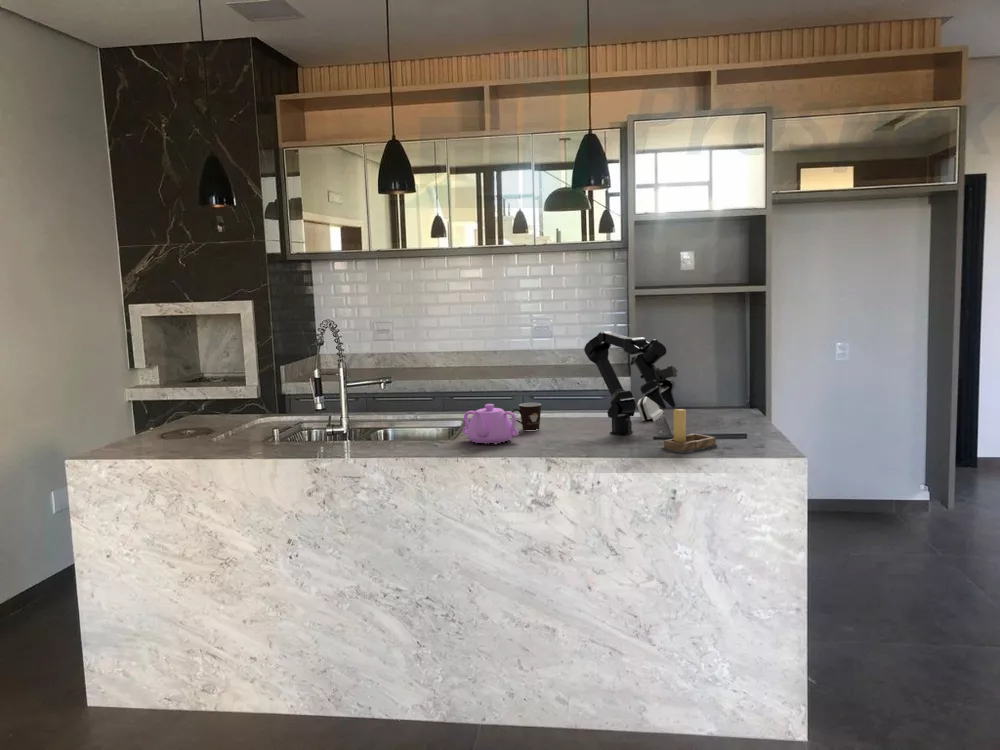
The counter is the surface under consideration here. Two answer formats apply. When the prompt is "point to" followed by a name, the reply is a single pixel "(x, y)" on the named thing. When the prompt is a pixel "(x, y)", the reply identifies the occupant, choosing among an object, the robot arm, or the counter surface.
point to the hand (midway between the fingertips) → (669, 407)
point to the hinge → (649, 409)
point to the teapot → (490, 425)
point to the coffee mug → (530, 415)
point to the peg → (680, 425)
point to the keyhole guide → (690, 443)
